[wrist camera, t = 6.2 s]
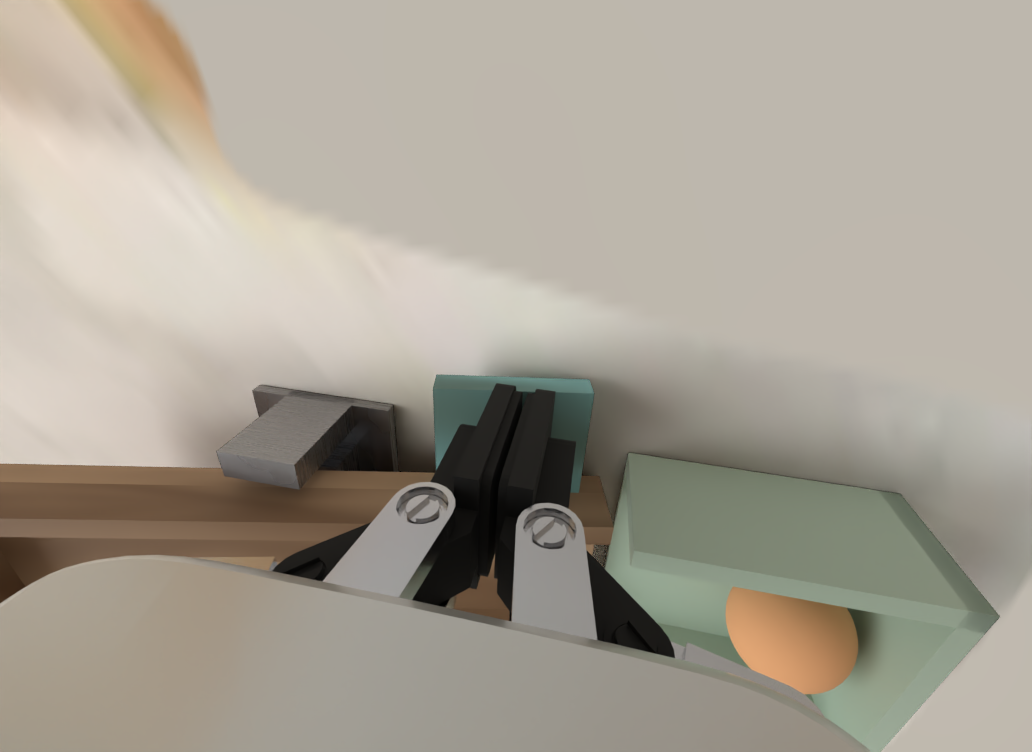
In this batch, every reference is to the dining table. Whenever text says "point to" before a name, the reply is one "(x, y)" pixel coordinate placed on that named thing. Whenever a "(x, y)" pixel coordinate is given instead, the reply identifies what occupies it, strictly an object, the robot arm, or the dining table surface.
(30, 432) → the dining table surface
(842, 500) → the tray
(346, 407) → the fulcrum
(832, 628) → the ball
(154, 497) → the lever
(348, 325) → the dining table surface
